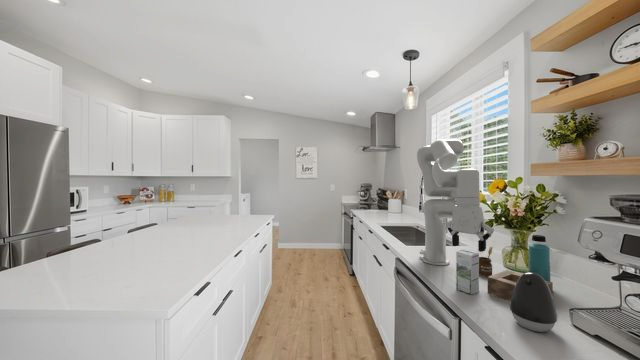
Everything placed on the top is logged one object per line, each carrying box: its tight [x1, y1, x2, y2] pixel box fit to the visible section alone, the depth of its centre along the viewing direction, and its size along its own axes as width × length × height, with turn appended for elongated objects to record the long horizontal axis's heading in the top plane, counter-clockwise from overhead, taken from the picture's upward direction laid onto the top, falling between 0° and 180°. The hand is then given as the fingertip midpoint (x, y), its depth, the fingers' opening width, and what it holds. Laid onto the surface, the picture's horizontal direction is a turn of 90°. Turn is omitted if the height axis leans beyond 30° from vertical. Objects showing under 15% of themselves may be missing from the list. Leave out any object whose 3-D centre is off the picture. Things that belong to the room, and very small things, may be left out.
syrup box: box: [455, 249, 480, 296], centre depth 97 cm, size 6×6×14 cm
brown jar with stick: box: [479, 246, 493, 278], centre depth 113 cm, size 6×6×12 cm
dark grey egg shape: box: [509, 271, 558, 333], centre depth 73 cm, size 10×10×15 cm
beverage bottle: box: [527, 234, 552, 282], centre depth 100 cm, size 6×7×20 cm
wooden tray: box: [487, 270, 554, 302], centre depth 92 cm, size 14×14×6 cm
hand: (468, 248), depth 96 cm, fingers open, 9 cm apart
